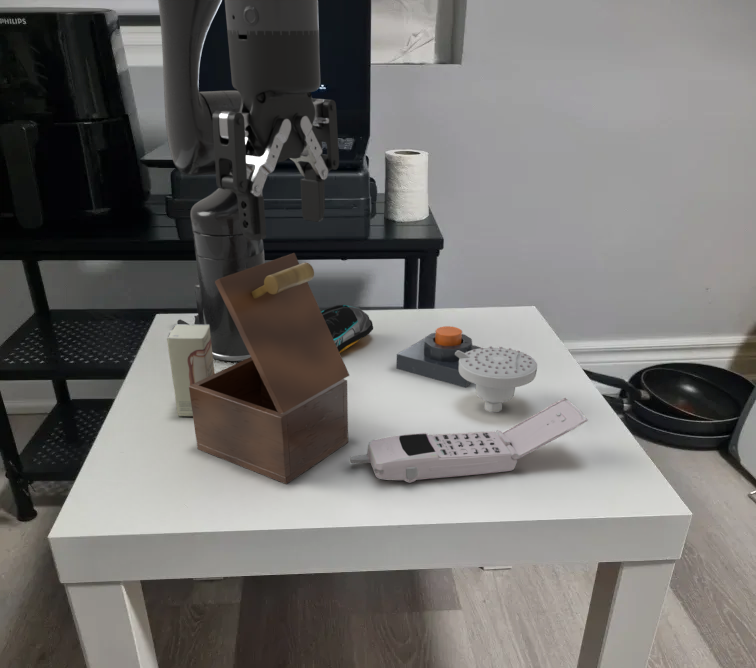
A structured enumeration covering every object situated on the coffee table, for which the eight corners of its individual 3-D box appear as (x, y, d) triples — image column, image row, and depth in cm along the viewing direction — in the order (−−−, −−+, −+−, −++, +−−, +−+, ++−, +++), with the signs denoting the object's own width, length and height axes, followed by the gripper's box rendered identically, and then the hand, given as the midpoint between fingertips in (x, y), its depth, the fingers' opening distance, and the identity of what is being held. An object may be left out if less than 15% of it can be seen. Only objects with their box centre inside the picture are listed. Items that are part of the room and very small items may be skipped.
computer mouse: (261, 353, 108) (257, 314, 105) (352, 327, 117) (351, 291, 114) (295, 372, 103) (293, 332, 99) (388, 343, 112) (388, 305, 109)
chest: (197, 449, 85) (188, 385, 80) (262, 413, 92) (257, 353, 88) (286, 484, 78) (281, 417, 74) (348, 442, 86) (347, 380, 82)
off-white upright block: (213, 417, 91) (202, 338, 86) (176, 417, 91) (164, 338, 85) (219, 399, 95) (210, 322, 90) (185, 399, 95) (173, 323, 90)
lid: (214, 281, 71) (244, 263, 68) (289, 255, 78) (320, 237, 75) (278, 414, 74) (310, 403, 71) (344, 377, 82) (376, 365, 79)
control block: (396, 368, 104) (396, 341, 102) (429, 348, 110) (430, 322, 108) (465, 388, 99) (467, 359, 97) (496, 366, 105) (499, 338, 103)
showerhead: (459, 336, 94) (539, 343, 93) (455, 389, 98) (532, 396, 97) (450, 365, 87) (537, 373, 85) (446, 421, 91) (529, 429, 89)
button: (430, 344, 102) (430, 331, 101) (443, 336, 105) (444, 324, 104) (453, 349, 100) (453, 337, 99) (465, 341, 103) (466, 329, 102)
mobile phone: (592, 420, 78) (357, 438, 74) (583, 468, 82) (358, 489, 77) (569, 396, 83) (348, 412, 79) (561, 443, 87) (348, 461, 82)
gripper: (292, 24, 68) (301, 210, 77) (176, 25, 58) (202, 239, 67) (359, 25, 65) (361, 220, 74) (248, 27, 55) (265, 252, 64)
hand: (285, 229), depth 70 cm, fingers open, 8 cm apart
